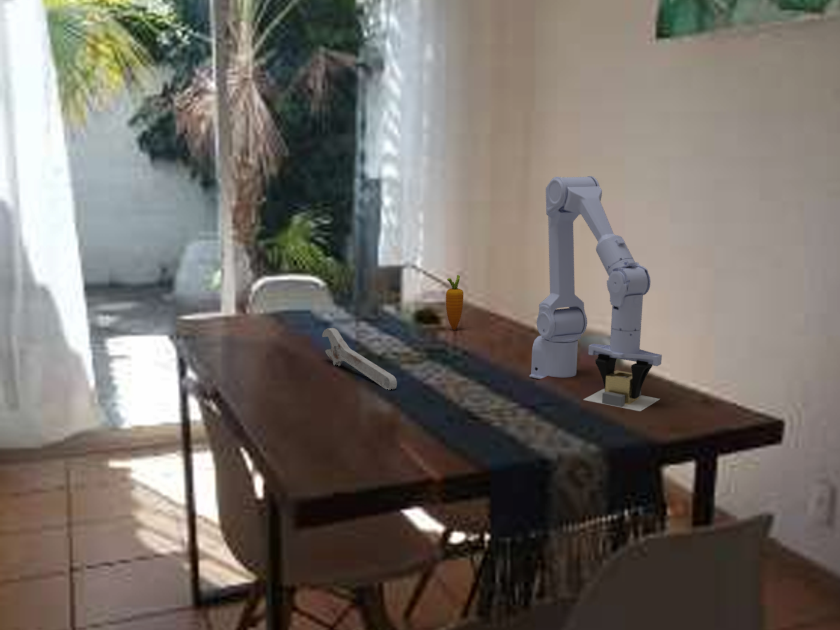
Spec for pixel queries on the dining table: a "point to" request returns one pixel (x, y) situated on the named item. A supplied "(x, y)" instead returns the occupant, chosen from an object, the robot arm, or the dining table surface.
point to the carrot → (454, 303)
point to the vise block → (621, 400)
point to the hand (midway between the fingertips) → (621, 394)
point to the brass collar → (620, 385)
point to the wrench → (356, 360)
